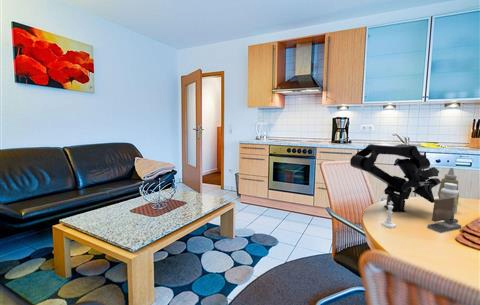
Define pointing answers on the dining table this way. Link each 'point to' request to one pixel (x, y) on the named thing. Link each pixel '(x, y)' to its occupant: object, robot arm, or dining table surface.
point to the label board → (445, 225)
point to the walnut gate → (444, 208)
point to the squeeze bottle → (448, 180)
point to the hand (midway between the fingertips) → (433, 202)
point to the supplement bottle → (450, 192)
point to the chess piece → (389, 217)
